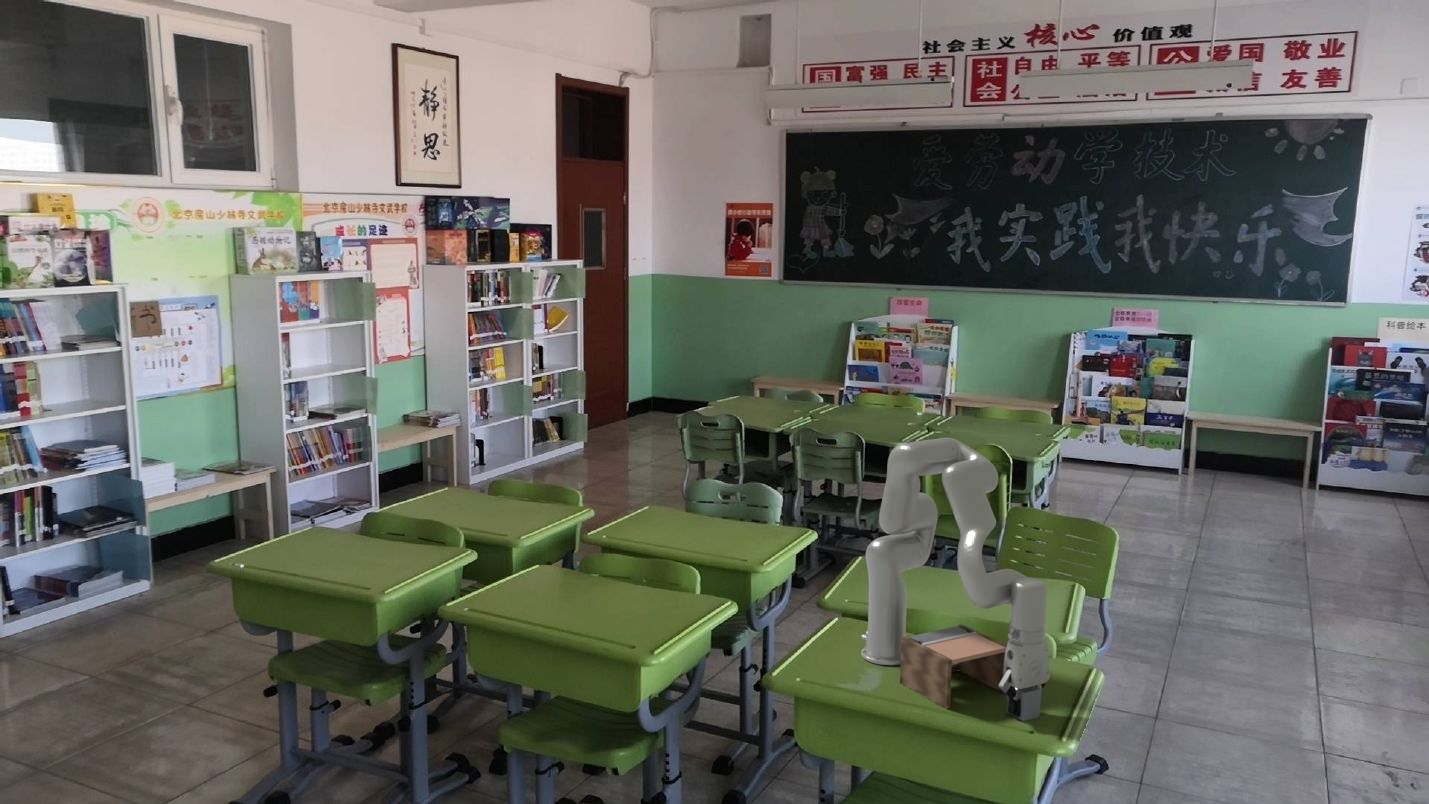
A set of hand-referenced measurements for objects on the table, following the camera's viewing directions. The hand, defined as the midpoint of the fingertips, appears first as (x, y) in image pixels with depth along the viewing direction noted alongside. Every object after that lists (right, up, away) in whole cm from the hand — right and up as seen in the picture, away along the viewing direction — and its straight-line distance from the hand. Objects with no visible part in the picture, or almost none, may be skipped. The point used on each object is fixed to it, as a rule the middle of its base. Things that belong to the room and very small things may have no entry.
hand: (1023, 711), depth 236 cm
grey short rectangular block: (0, +2, 0) cm, 2 cm away
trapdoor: (-12, +9, +13) cm, 20 cm away
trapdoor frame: (-12, +1, +14) cm, 19 cm away
